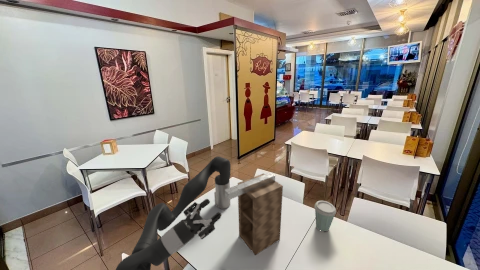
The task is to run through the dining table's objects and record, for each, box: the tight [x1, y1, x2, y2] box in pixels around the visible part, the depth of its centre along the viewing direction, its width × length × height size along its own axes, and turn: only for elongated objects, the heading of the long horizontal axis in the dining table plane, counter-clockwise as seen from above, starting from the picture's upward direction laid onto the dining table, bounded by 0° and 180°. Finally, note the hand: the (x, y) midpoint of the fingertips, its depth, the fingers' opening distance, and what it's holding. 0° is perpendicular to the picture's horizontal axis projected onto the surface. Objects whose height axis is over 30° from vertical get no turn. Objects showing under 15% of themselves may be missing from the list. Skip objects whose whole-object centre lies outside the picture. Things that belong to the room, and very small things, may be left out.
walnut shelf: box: [237, 173, 284, 256], centre depth 97 cm, size 16×14×32 cm
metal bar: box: [225, 172, 276, 201], centre depth 89 cm, size 26×4×3 cm, turn 123°
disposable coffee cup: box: [314, 200, 337, 232], centre depth 105 cm, size 11×11×15 cm
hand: (214, 206), depth 77 cm, fingers open, 8 cm apart
